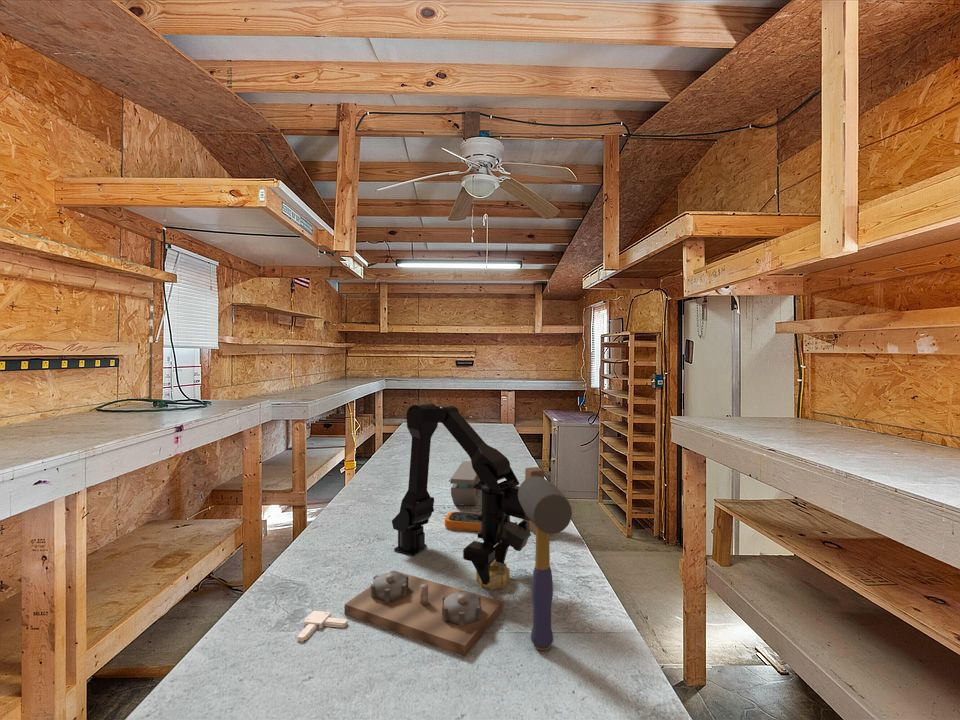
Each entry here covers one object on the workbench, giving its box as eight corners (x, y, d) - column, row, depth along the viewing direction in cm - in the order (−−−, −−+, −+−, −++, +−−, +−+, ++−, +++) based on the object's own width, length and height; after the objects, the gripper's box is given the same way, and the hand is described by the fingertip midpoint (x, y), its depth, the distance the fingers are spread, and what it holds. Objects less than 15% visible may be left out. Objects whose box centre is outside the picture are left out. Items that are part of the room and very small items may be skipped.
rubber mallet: (514, 627, 88) (515, 473, 88) (551, 624, 89) (552, 472, 89) (530, 672, 76) (532, 494, 75) (573, 668, 77) (575, 492, 77)
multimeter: (449, 520, 145) (449, 509, 145) (505, 524, 142) (505, 513, 142) (442, 530, 136) (442, 519, 136) (502, 535, 133) (502, 523, 133)
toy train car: (473, 512, 151) (473, 479, 151) (450, 511, 152) (450, 478, 152) (482, 489, 176) (483, 461, 176) (462, 488, 177) (463, 460, 177)
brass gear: (471, 584, 104) (471, 571, 104) (485, 570, 111) (485, 558, 111) (500, 592, 101) (500, 579, 101) (514, 577, 108) (514, 565, 108)
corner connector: (331, 648, 83) (331, 639, 83) (290, 643, 84) (290, 634, 84) (350, 622, 91) (350, 614, 91) (313, 618, 92) (313, 610, 92)
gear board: (344, 613, 93) (344, 587, 92) (393, 578, 107) (393, 555, 107) (464, 657, 80) (465, 626, 80) (502, 610, 94) (502, 584, 94)
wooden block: (551, 535, 132) (552, 474, 132) (537, 537, 131) (538, 475, 131) (537, 524, 141) (538, 466, 140) (524, 526, 139) (524, 467, 139)
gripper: (509, 530, 94) (508, 605, 94) (540, 503, 110) (539, 567, 111) (462, 521, 99) (461, 592, 99) (498, 496, 115) (497, 557, 116)
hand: (492, 576), depth 106 cm, fingers closed on brass gear, 7 cm apart
